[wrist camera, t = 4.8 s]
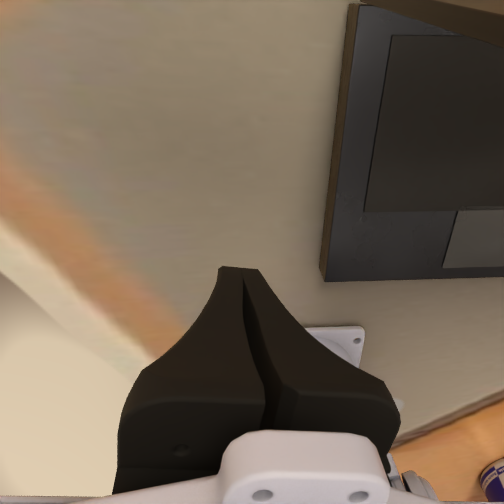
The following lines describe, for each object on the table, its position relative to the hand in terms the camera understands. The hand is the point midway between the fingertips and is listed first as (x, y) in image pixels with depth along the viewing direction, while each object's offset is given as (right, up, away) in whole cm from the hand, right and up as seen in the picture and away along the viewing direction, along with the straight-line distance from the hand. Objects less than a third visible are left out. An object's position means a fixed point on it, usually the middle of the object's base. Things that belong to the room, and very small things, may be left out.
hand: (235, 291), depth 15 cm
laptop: (+15, +7, +9) cm, 18 cm away
